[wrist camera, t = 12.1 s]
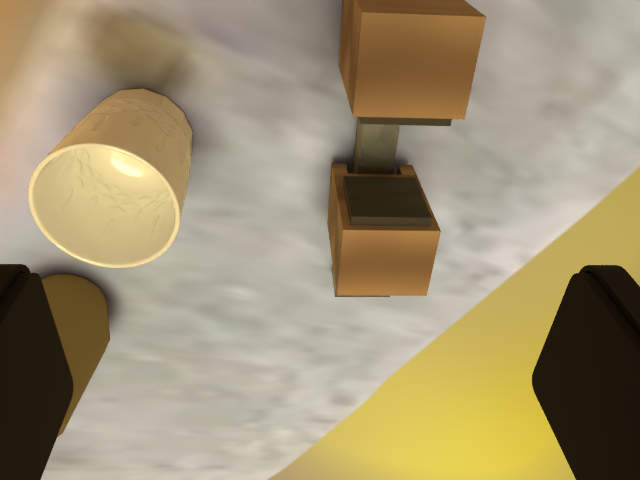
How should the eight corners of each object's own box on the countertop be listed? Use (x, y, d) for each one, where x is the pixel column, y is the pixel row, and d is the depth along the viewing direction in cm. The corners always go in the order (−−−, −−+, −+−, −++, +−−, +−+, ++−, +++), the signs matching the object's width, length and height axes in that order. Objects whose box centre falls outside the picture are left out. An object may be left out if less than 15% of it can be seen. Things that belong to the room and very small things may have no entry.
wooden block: (344, -21, 32) (362, 12, 25) (441, -17, 32) (486, 16, 25) (338, 74, 35) (352, 127, 28) (426, 77, 35) (462, 129, 28)
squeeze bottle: (74, 245, 42) (-37, 450, 28) (141, 311, 47) (76, 519, 32) (-3, 286, 44) (-145, 499, 29) (68, 346, 48) (-25, 558, 34)
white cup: (225, 137, 38) (209, 213, 30) (153, 204, 41) (120, 290, 32) (133, 53, 34) (86, 112, 26) (60, 132, 37) (-3, 208, 29)
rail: (362, -135, 29) (370, -134, 27) (442, -130, 30) (457, -129, 27) (331, 271, 45) (335, 296, 43) (383, 271, 46) (390, 296, 43)
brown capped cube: (332, 155, 38) (343, 221, 31) (413, 157, 38) (442, 222, 32) (327, 222, 41) (336, 295, 34) (402, 223, 42) (426, 295, 35)
